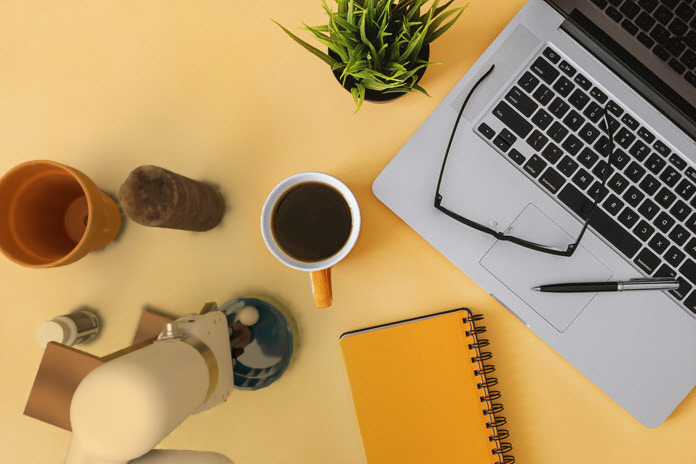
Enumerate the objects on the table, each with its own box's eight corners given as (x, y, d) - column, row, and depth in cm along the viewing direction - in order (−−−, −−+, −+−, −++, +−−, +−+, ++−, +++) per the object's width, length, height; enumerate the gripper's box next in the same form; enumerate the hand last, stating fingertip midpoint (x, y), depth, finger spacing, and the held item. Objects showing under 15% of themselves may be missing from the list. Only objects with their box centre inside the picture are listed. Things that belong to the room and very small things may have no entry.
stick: (253, 346, 72) (241, 361, 60) (226, 352, 71) (209, 369, 60) (248, 319, 72) (235, 330, 60) (221, 325, 72) (203, 336, 60)
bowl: (283, 392, 73) (276, 403, 68) (203, 364, 74) (189, 373, 68) (310, 310, 73) (305, 314, 68) (230, 283, 74) (219, 285, 69)
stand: (182, 384, 74) (94, 446, 50) (128, 365, 74) (16, 417, 51) (201, 328, 74) (122, 363, 51) (147, 309, 75) (44, 335, 51)
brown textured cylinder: (237, 216, 75) (188, 202, 55) (198, 243, 75) (135, 239, 55) (210, 175, 75) (152, 147, 55) (172, 202, 75) (99, 184, 55)
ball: (260, 328, 72) (254, 321, 69) (241, 328, 72) (234, 321, 70) (262, 309, 74) (256, 301, 71) (243, 310, 74) (237, 302, 71)
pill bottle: (73, 308, 75) (35, 315, 67) (102, 313, 75) (68, 320, 66) (68, 339, 75) (30, 350, 67) (97, 343, 75) (62, 355, 66)
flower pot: (124, 163, 76) (73, 145, 63) (150, 249, 75) (104, 249, 62) (40, 191, 76) (-27, 178, 63) (65, 277, 75) (1, 282, 62)
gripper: (132, 298, 48) (198, 287, 66) (148, 461, 47) (211, 403, 65) (207, 289, 47) (252, 280, 66) (224, 453, 47) (266, 397, 65)
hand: (231, 342), depth 65 cm, fingers closed on stick
